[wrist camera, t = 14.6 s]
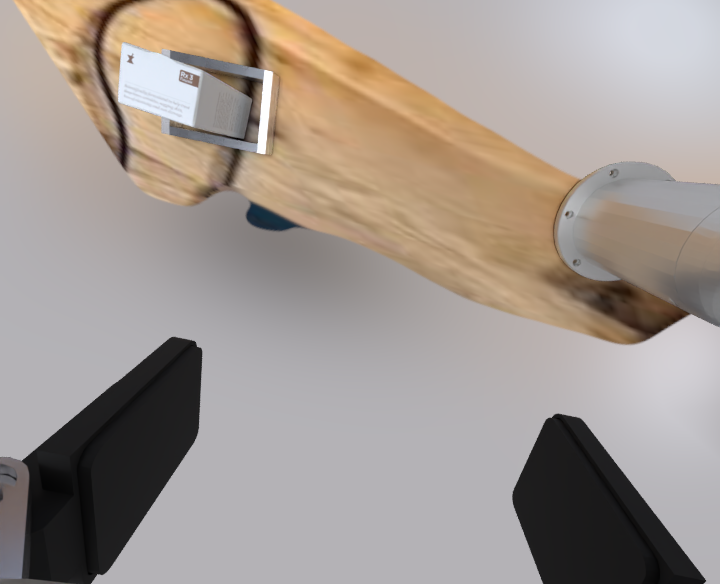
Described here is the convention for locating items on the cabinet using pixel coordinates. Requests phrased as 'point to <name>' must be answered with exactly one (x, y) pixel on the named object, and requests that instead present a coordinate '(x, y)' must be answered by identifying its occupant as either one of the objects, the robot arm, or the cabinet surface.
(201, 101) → the skincare box
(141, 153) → the cabinet surface
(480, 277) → the cabinet surface
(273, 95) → the socket collar
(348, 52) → the cabinet surface
